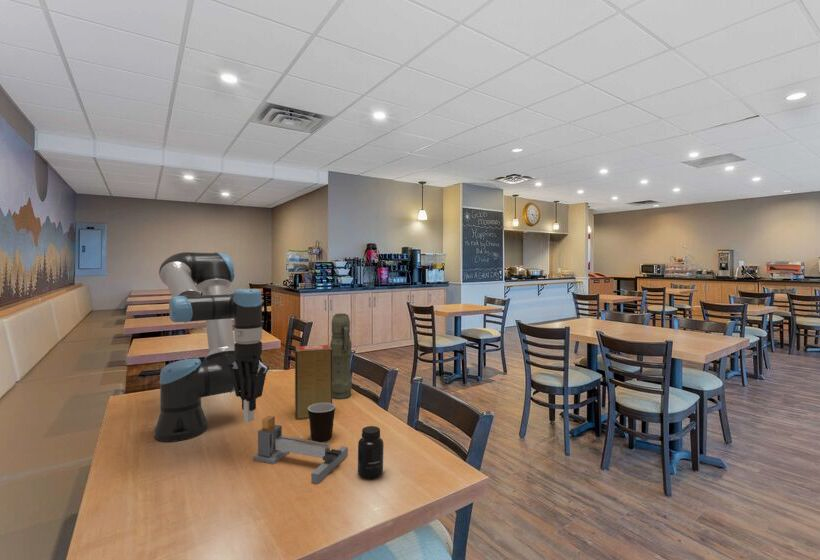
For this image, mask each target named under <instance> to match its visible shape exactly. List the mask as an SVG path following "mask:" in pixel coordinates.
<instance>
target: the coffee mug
mask: <svg viewBox="0 0 820 560" xmlns="http://www.w3.org/2000/svg"><path fill="white" fill-rule="evenodd" d="M335 413H336V405H335V404H333V403H332V404H331V403H317V404H313V405H311V406H309V407H308V414H309V418H308V420H309V428H310V431H309V432H310V436H311V437H310V438H311V439H310V440H311V441H317V442H322V443H327V442H329V441H330V440H331V439H333V438H332V437H333V430H334V421H335Z"/></svg>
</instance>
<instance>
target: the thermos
mask: <svg viewBox="0 0 820 560" xmlns="http://www.w3.org/2000/svg"><path fill="white" fill-rule="evenodd" d="M350 332H351V320H350V316H349V315H348V314H347V313H335V314H334V315H333V316H332V319H331V333H332V334H331V340H330V343H329V346H330V347H331V348H332V400H345V399H349V398H351V397H350V396H352V378H351V356H352V340H351V335H350Z"/></svg>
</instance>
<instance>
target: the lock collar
mask: <svg viewBox="0 0 820 560" xmlns="http://www.w3.org/2000/svg"><path fill="white" fill-rule="evenodd" d="M261 427H262V428H261V429H258V431H257V454H258V455H262V456H267V457H271V456H272V438H271V435H272V434H273V449H275V439H277V438H279V437H280V436H282V435H283V432H282V431H283V430H282V425H279V424H276V417H275V416H274V415H268V416H266V417H263V418H262V419H261Z"/></svg>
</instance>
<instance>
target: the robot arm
mask: <svg viewBox="0 0 820 560" xmlns="http://www.w3.org/2000/svg"><path fill="white" fill-rule="evenodd" d="M234 266H235V265H234V262H233V259H232V258H231V257H230V255H228V254H226V253H220V252H189V251H183V252H178V253H175V254H173V255H170V256H169V257H167V258H166V259H165V260H164V261H162V263H161V265H160V267H159V269H158V276H159V279H160V280H161V282H162V283H163V284H164V285H166V287H167V288H168V290H169V293H170V296H171V298H169V303H168V311H169V318H170V319H169V320H170V321H171V322H173V323H184V324H185V323H191V322H202V321H203V322H204V321H205V328H206V336H207V337H206V338H207V345H208V353H207V355H206V356H205V357H204V362H203V361H201V359H200V358H195V357H193V358H185V359H181V360H177V361H173V362H170V363H168V364H166V365H165V366H163V367H162V368H161V370H160V375H159V381H158V382H159V385H160V386H159V387H160V390H159V391H160V394H159V395H160V397H159V399H160V402H159V403H160V412H159V417H158V419H157V423H156V426H155V428H154V436H153V437H154V438H155V440H157V441H160V442H178V441H184V440H189V439H192V438H195V437H197V436H199V435H202V434H203V433H204V432H206V431H207V429H208V419H207V418H206V416H205V412H204V410H203V407H202V398H205V397H212V396H217V395H221V394H229V393H230V394H231V393H233V392H234V394H235V396H236V397H239V398H240V399H241V409H242V410H243V422H244V423H247V424H248V423H250V422H252V421H254V420H255V410H256V409H257V399H258V398H260V397H262V396H263V392H264V386H265V383H266V381H265V380H266V376H267V372H268V371H269V369H270V366H269V365H265V364H264V363H263V361H262V357H261V355H262V353H263V343H262V341H261V340H263V325H262V323H263V322H262V320H263V309H262V308H263V306H262V305H263V298H262V292H261V290H260V289H257V288H256V289H255V288H239V289H236V290H235V291H234V293H229V294H228V289H229V288H230V286H231V283H232V282H233V281H234V280H235V267H234ZM232 319H234V320H233V321H232ZM232 322H234V325H233V323H232ZM233 326H234V329H233Z"/></svg>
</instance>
